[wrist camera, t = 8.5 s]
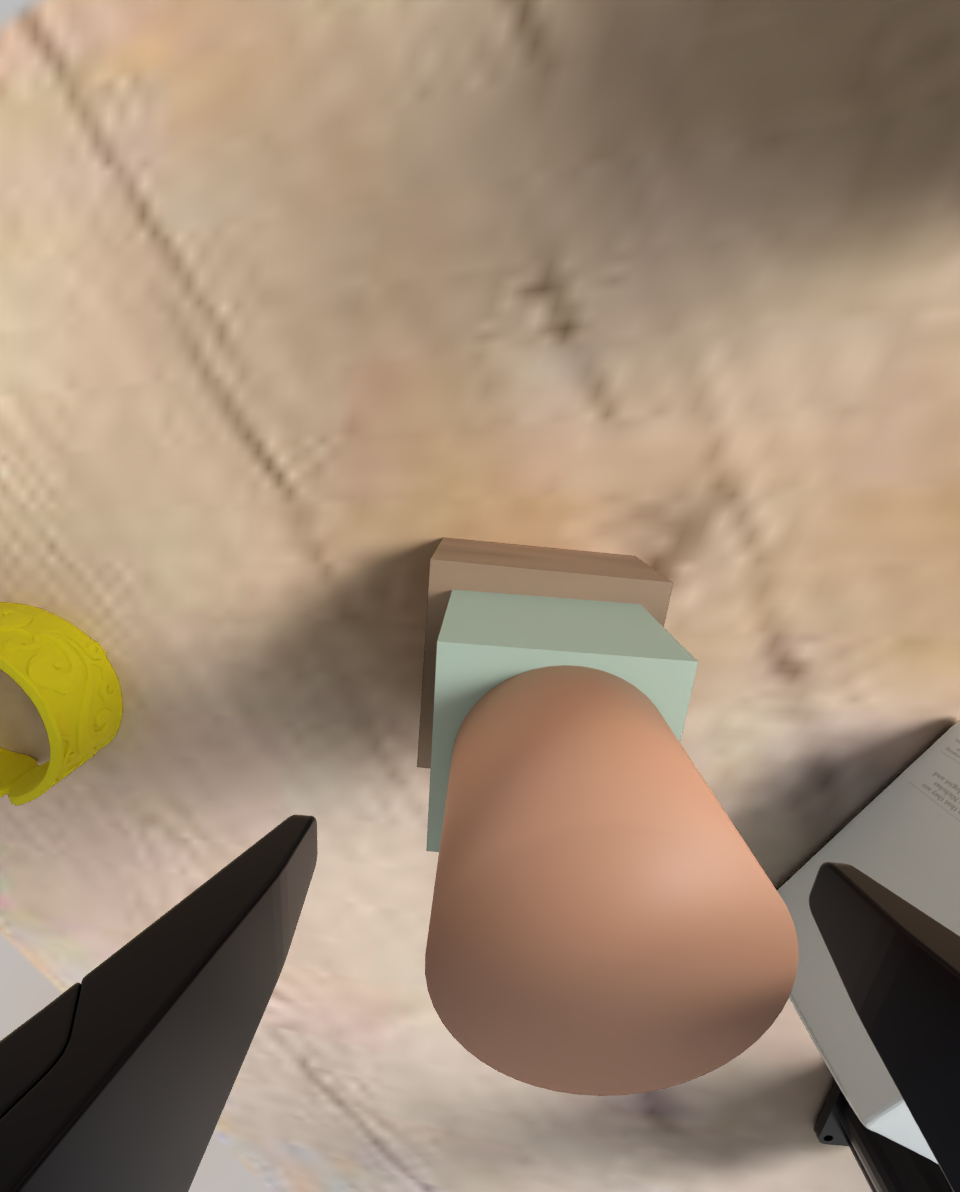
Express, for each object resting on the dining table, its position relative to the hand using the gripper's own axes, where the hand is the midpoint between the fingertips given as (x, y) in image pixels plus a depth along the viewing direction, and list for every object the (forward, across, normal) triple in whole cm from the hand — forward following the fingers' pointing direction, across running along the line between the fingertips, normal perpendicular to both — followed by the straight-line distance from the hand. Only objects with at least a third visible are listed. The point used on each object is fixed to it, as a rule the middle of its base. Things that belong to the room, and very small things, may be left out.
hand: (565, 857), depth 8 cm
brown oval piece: (+2, 0, 0) cm, 3 cm away
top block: (+6, 0, 0) cm, 7 cm away
